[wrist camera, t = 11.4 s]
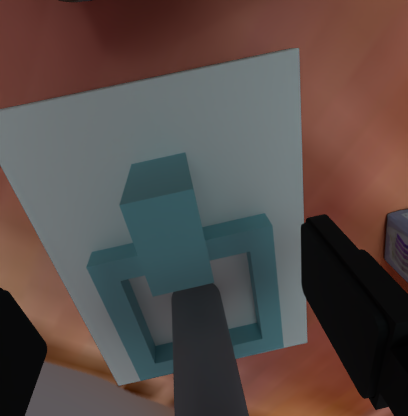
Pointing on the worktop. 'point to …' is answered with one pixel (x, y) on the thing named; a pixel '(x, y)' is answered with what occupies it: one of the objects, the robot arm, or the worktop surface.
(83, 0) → the tin
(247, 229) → the link
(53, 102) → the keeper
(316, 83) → the worktop surface
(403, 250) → the cake pan box
